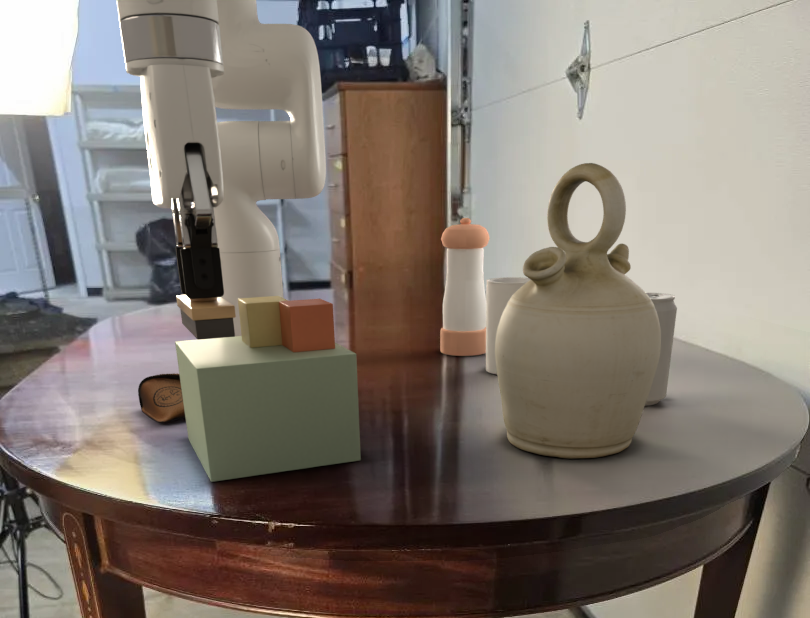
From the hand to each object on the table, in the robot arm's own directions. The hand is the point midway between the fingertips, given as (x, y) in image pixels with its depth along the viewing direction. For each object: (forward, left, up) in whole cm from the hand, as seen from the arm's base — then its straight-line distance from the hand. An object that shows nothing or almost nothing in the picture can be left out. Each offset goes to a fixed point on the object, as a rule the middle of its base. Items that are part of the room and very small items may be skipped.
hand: (202, 293), depth 68 cm
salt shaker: (-36, +44, -15) cm, 59 cm away
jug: (+10, +33, -15) cm, 37 cm away
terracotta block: (+2, +9, -5) cm, 10 cm away
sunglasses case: (-19, +4, -15) cm, 25 cm away
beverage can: (0, +49, -15) cm, 51 cm away
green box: (0, +5, -15) cm, 16 cm away
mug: (-21, +45, -15) cm, 52 cm away
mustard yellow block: (-2, +6, -5) cm, 8 cm away
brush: (0, 0, -3) cm, 3 cm away
